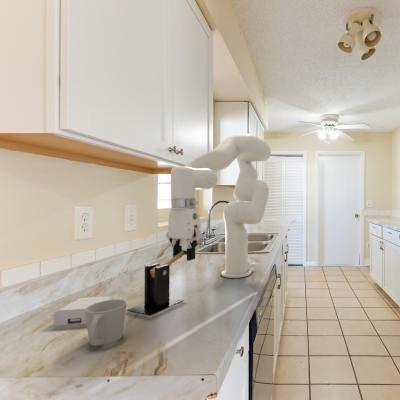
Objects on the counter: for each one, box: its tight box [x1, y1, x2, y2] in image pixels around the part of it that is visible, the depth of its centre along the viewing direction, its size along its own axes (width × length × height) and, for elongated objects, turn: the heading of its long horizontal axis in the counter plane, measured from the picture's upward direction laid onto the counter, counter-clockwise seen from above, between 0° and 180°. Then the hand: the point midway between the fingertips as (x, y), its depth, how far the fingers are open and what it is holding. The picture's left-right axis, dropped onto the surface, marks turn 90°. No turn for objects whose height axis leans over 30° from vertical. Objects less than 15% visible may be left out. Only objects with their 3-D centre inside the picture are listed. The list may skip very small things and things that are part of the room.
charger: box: [53, 295, 114, 327], centre depth 75 cm, size 5×9×15 cm
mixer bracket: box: [126, 262, 185, 317], centre depth 80 cm, size 12×9×13 cm
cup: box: [85, 298, 127, 347], centre depth 60 cm, size 8×10×8 cm
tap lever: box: [150, 249, 187, 278], centre depth 85 cm, size 13×5×2 cm, turn 158°
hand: (184, 258), depth 90 cm, fingers closed on tap lever, 5 cm apart
